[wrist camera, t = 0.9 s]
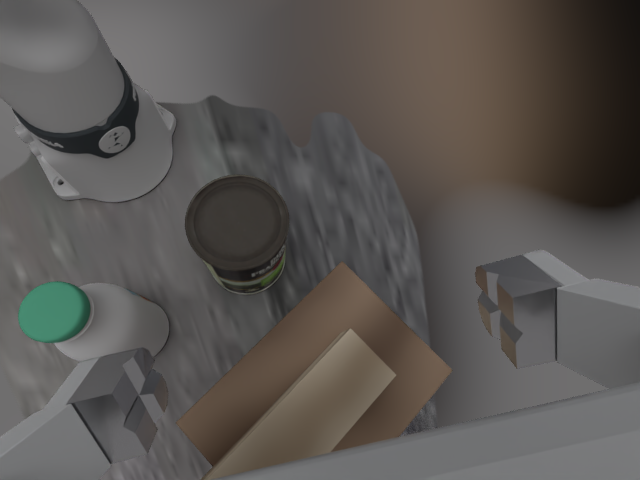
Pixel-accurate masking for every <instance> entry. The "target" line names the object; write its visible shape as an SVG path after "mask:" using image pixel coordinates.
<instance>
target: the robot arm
mask: <svg viewBox="0 0 640 480" xmlns="http://www.w3.org/2000/svg"><path fill="white" fill-rule="evenodd" d="M0 97H1V98H2V99H3V100H4V101H5V102H6V103H7V104H8V105H10V106H11V107H12V109H13V111H14V113H15V118H16V120H17V122H18V124H19V125H17V126H15V127H14V130H15V132H16V133H17V135H18V136H19V137H20V138H21V140H23V142H25V143H29V145H30V146H29V148H30V150H31V151H32V153H33V154H34V155H35V156H36V158H37V160H38V161H39V163H40V165H41V167H42V169H43V171H44V173H45V174H46V176H47V178H48V180H49V182H50V184H51V186H52V187H53V189H54V191H55V193H56V194H57V195H58V196H59V197H60V198H61V199H64V200H75V199H82V198H89V199H94V200H99V201H104V202H122V201H127V200H131V199H135V198H137V197H140V196H142V195H144V194H146V193H147V192H149V191H150V190H152V189H153V188H154V187H156V186H157V185H158V184H159V183H160V182H161V181H162V179H163V178H164V177H165V175H166V174H167V172H168V170H169V168H170V165H171V162H172V156H173V148H172V135H173V132H174V130H175V127H176V119H175V117H174V115H173V114H172V113H171V112H169V111H168V110H166V109H165V108H163V107H162V106H160V105H159V104H157V103H156V102H155V101H154V99H153V97H152V96H151V94H150V93H149V92H148V90H143V89H142V88H141V87H139V86H138V85H136V84H134V83H133V82H132V80H131V78H130V76H129V75H128V73H127V71H126V70H125V69H124V68H123V66H122V65H121V63H120V62H119V61H118V60H117V59H115V58H114V56H113V55H112V53H111V51H110V49H109V47H108V45H107V43H106V41H105V39H104V38H103V36H102V34H101V32H100V30H99V28H98V26H97V24H96V22H95V20H94V19H93V17H92V15H91V14H90V13H89V12H88V10H87V9H86V8H85V7H84V6H83V5H82V4H81V3H79V1H77V0H0ZM61 182H64V184H63V185H60V184H61ZM475 275H476V283H477V284H478V286H479V287H480V288H481V289H482V290H483V291H482V293H481V295H480V296H479V298H478V304H479V311H480V314H481V318H482V321H483V323H484V325H485V327H486V329H487V330H488V332H489V333H490V334H491V336H492V337H494V338H497V339H499V340H501V347H502V350H503V352H505V354H506V355H507V357H508V358H509V359H510V360H511V362H512V363H513V364H514V366H515V367H516V368H517V369H520V368H525V367H529V366H534V365H540V364H544V363H549V362H554V361H557V363H559V364H561V365H563V366H565V367H567V368H569V369H571V370H573V371H575V372H577V373H579V374H581V375H583V376H585V377H587V378H589V379H591V380H593V381H595V382H597V383H599V384H601V385H603V386H605V387H607V388H609V389H607V390H603V391H598V392H595V393H590V394H585V395H582V396H577V397H572V398H568V399H563V400H559V401H555V402H550V403H546V404H542V405H537V406H532V407H528V408H524V409H519V410H515V411H510V412H506V413H502V414H497V415H493V416H489V417H484V418H480V419H475V420H471V421H466V422H462V423H458V424H453V425H449V426H445V427H440V428H435V429H431V430H427V431H422V432H418V433H413V434H409V435H405V436H400V437H396V438H391V439H387V440H383V441H378V442H374V443H369V444H365V445H361V446H356V447H352V448H347V449H343V450H339V451H334V452H330V453H326V454H321V455H317V456H313V457H308V458H304V459H299V460H295V461H291V462H286V463H282V464H277V465H273V466H269V467H264V468H260V469H255V470H251V471H246V472H242V473H238V474H233V475H229V476H224V477H220V478H216V479H211V480H640V287H636V286H631V285H626V284H621V283H616V282H611V281H606V280H601V279H592V280H588V279H587V278H585V277H584V276H582V275H581V274H579V273H578V272H576V271H575V270H573V269H572V268H570V267H569V266H567V265H566V264H564V263H563V262H561V261H560V260H558V259H557V258H555V257H554V256H552V255H551V254H549V253H548V252H546V251H544V250H536V251H533V252H529V253H526V254H522V255H519V256H515V257H511V258H508V259H504V260H500V261H496V262H493V263H489V264H485V265H481V266H478V267H476V272H475ZM154 361H155V360H154V358H153V357H152V355H151V353H150V351H149V350H148V349H146V348H143V347H141V348H136V349H132V350H127V351H123V352H118V353H114V354H109V355H105V356H99V357H96V358H92V359H88V360H85V361H82V362H80V363H79V364H78V365H77V366H76V367H75V369H74V370H73V371H72V373H71V374H70V375H69V376H68V378H67V379H66V380H65V382H64V383H63V384H62V385H61V387H60V388H59V389H58V391H57V392H56V393H55V394H54V396H53V397H52V398H51V399H50V401H49V402H48V403H47V405H46V406H45V407H44V408H43V410H42V411H38V412H35V413H33V414H32V415H31V416H29V417H28V418H26V419H25V420H24V421H22V422H21V423H19V424H18V425H16V426H15V427H14V428H12V429H11V430H9V431H8V432H7V433H5V434H4V435H2V436H1V437H0V480H100V478H101V477H102V476H103V475H104V474H105V473H106V471H107V470H108V469H109V468H110V467H111V464H113V463H117V462H121V461H124V460H128V459H132V458H136V457H140V456H144V455H147V454H148V452H149V450H150V447H151V445H152V442H153V440H154V437H155V435H156V432H157V430H158V429H157V427H156V425H155V422H156V421H157V420H158V419H159V418H160V417H161V416H162V415H163V414H164V412H165V409H166V407H167V403H168V390H167V386H166V382H165V380H164V378H163V376H162V374H160V373H158V372H157V371H155V370H153V369H152V368H153V364H154Z"/></svg>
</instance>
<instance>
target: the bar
mask: <svg viewBox="0 0 640 480" xmlns="http://www.w3.org/2000/svg"><path fill="white" fill-rule="evenodd" d="M395 376H396V374H395V373H394V372H393V371H392V370H391V369H390V368H389V367H388V366H387V365H386V364H385V363H384V362H383V361H382V360H381V359H380V358H379V357H378V356H377V355H376V354H375V353H374V352H373V351H372V350H371V349H370V348H369V347H368V346H367V345H366V343H365V342H364V341H363V340H362V339H361V338H360V337H359V336H358V335H357V334H356V333H355V332H354V331H353V330H352V329H351V328H350V329H348V330H346V331H344V332H342V333H340V334H339V335H338V336H337V337H336V338H335V339H334V341H333V342H332V343H331V344H330V345H329V346H328V347H327V348H326V349H325V350H324V351H323V352H322V353H321V354H320V355H319V356H318V357H317V358H316V359H315V360H314V361H313V363H312V364H311V365H310V366H309V367H308V368H307V369H306V370H305V371H304V372H303V373H302V374H301V375H300V376H299V377H298V378H297V379H296V380H295V381H294V382H293V383H292V385H291V386H290V387H289V388H288V389H287V390H286V391H285V392H284V393H283V394H282V395H281V396H280V397H279V398H278V399H277V400H276V401H275V402H274V403H273V404H272V405H271V407H270V408H269V409H268V410H267V411H266V412H265V413H264V414H263V415H262V416H261V417H260V418H259V419H258V420H257V421H256V422H255V423H254V424H253V425H252V426H251V427H250V429H249V430H248V431H247V432H246V433H245V434H244V435H243V436H242V437H241V438H240V439H239V440H238V441H237V442H236V443H235V444H234V445H233V446H232V447H231V448H230V449H229V451H228V452H227V453H226V454H225V455H224V456H223V457H222V458H221V459H220V460H219V461H218V462H217V463H216V464H215V465H214V466H213V467H212V468H211V469H210V470H209V471H208V473H207V474H206V475H205V476H204V477H203V478H202V479H201V480H211V479H216V478H220V477H224V476H229V475H233V474H238V473H242V472H246V471H251V470H255V469H260V468H264V467H269V466H273V465H277V464H282V463H286V462H291V461H295V460H299V459H304V458H308V457H313V456H317V455H321V454H326V453H330V452H331V451H332V450H333V448H334V447H335V446H336V445H337V444H338V443H339V441H340V440H341V439H342V438H343V437H344V436H345V434H346V433H347V432H348V431H349V430H350V429H351V427H352V426H353V425H354V424H355V423H356V422H357V420H358V419H359V418H360V417H361V416H362V415H363V413H364V412H365V411H366V410H367V409H368V408H369V407H370V405H371V404H372V403H373V402H374V401H375V400H376V398H377V397H378V396H379V395H380V394H381V393H382V391H383V390H384V389H385V388H386V387H387V386H388V384H389V383H390V382H391V381H392V380H393V379H394V377H395Z"/></svg>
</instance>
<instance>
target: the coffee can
mask: <svg viewBox="0 0 640 480" xmlns="http://www.w3.org/2000/svg"><path fill="white" fill-rule="evenodd" d="M185 230H186V235H187V238H188V241H189V243H190V245H191V247H192V248H193V250H194V251H195V252H196V254H197V255H198V256H199V257H200V258H201V259H202V260H203V262H204V263H205V264H206V266H207V267H208V269H209V270H210V272H211V274H212V276H213V277H214V279H215V280H216V281H217V282H218V284H219V285H221V286H222V287H223V288H224V289H226V290H228V291H230V292H233V293H236V294H242V295H249V294H256V293H259V292H262V291H264V290H266V289H267V288H269V287H270V286H272V285H273V284H274V283H275V282H276V281H277V279H278V278H279V277H280V275H281V273H282V271H283V268H284V265H285V250H286V240H287V234H288V230H289V213H288V209H287V206H286V204H285V202H284V200H283V198H282V196H281V195H280V194H279V192H278V191H277V190H276V189H275V188H274V187H272V186H271V185H270V184H268V183H267V182H265V181H263V180H261V179H259V178H256V177H253V176H248V175H228V176H224V177H221V178H218V179H215V180H213V181H211V182H210V183H208V184H206V185H205V186H204V187H202V188H201V189H200V190H199V191H198V192H197V193H196V194H195V196H194V197H193V199H192V200H191V202H190V204H189V206H188V209H187V212H186V217H185Z"/></svg>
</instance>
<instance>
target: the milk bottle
mask: <svg viewBox="0 0 640 480" xmlns="http://www.w3.org/2000/svg"><path fill="white" fill-rule="evenodd" d="M18 320H19V324H20V327H21V329H22V331H23V332H24V333H25V334H26V335H27V336H28V337H30V338H31V339H33V340H36V341H39V342H45V343H54V344H55V346H56V347H57V348H58V349H59V350H60V351H61V352H62V353H63V354H65V355H66V356H68V357H70V358H72V359H74V360H77V361H80V362H82V361H85V360H88V359H92V358H96V357H99V356H105V355H109V354H114V353H118V352H123V351H127V350H132V349H136V348H141V347H143V348H146V349H148V350H149V351H150V353H151V355H152V357H154V356H155V355H156V354H158V353H159V352H160V350H161V349H162V348H163V346H164V345H165V343H166V341H167V338H168V334H169V321H168V318H167V315H166V314H165V312H164V311H163V309H162V308H161V307H160V306H158V305H157V304H155V303H154V302H152V301H150V300H148V299H146V298H144V297H142V296H140V295H138V294H136V293H134V292H132V291H130V290H128V289H125V288H123V287H120V286H117V285H114V284H108V283H91V284H86V285H82V286H79V287H77V286H75V285H72V284H69V283H66V282H58V281H57V282H49V283H45V284H42V285H40V286H38V287H36V288H35V289H33V290H32V291H31V292H30V293H29V294H28V295H27V296H26V297H25V298H24V300H23V302H22V303H21V306H20V308H19V313H18Z"/></svg>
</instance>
